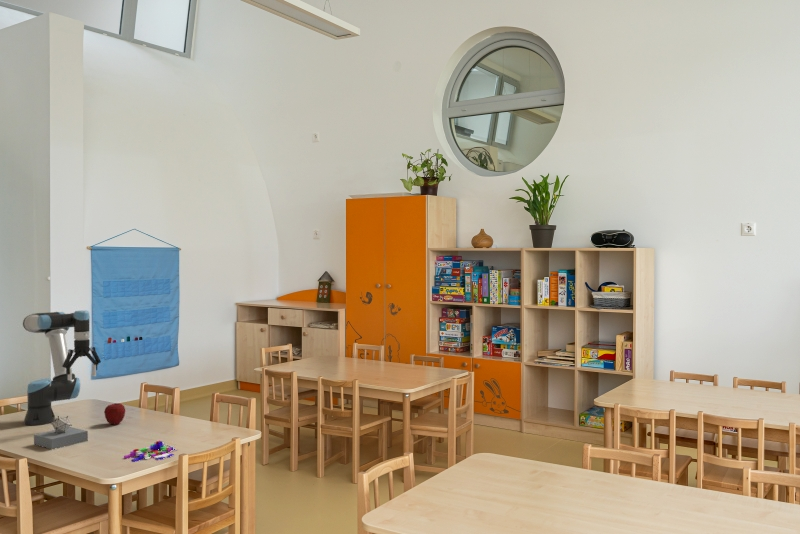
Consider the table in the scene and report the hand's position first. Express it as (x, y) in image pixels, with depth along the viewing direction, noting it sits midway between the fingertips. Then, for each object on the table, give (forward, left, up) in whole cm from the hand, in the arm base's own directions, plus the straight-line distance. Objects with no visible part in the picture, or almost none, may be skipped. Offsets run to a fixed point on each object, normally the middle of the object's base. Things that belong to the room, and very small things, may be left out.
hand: (82, 378), depth 353 cm
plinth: (+21, -24, -26) cm, 41 cm away
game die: (+21, -23, -22) cm, 38 cm away
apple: (+9, +13, -27) cm, 31 cm away
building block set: (+77, -11, -27) cm, 82 cm away
